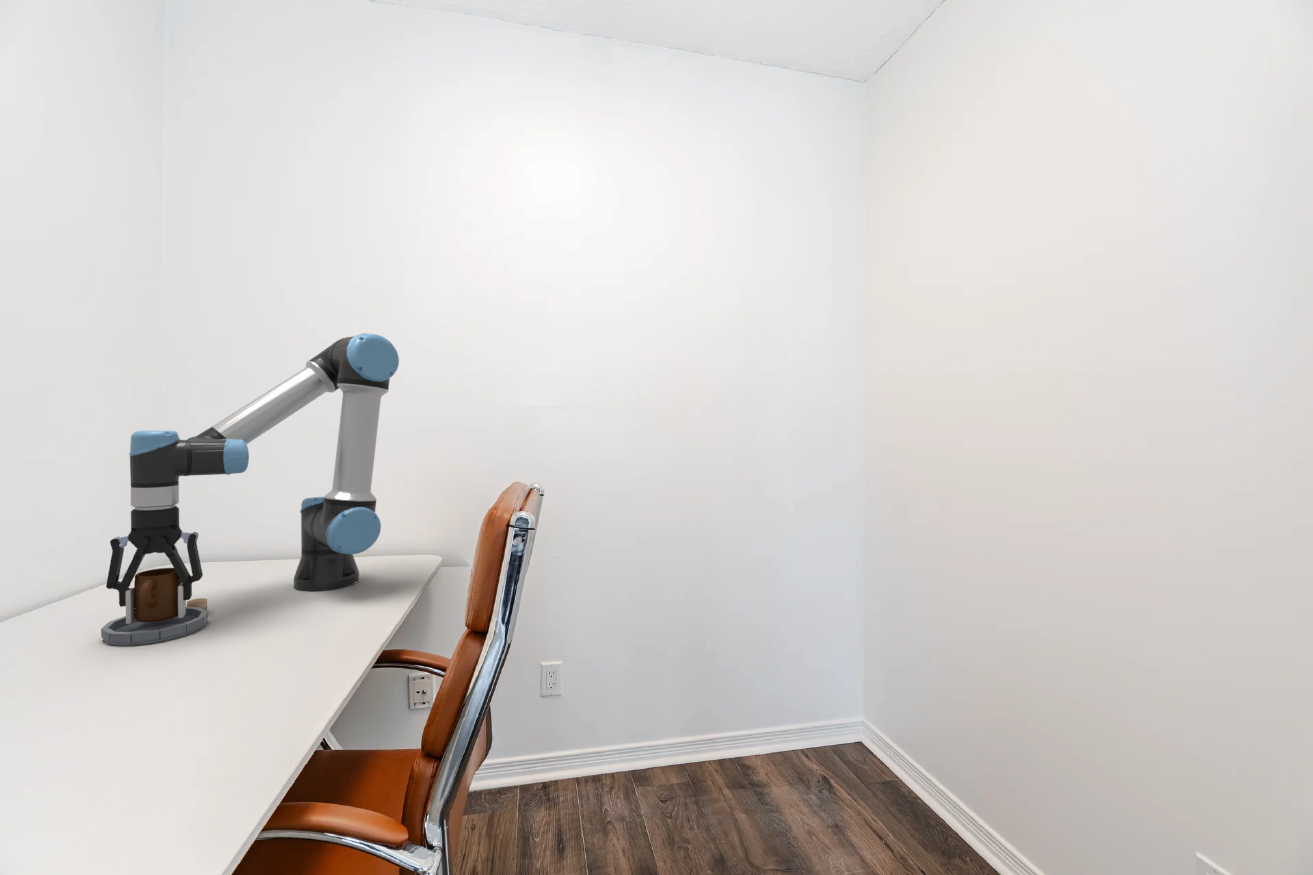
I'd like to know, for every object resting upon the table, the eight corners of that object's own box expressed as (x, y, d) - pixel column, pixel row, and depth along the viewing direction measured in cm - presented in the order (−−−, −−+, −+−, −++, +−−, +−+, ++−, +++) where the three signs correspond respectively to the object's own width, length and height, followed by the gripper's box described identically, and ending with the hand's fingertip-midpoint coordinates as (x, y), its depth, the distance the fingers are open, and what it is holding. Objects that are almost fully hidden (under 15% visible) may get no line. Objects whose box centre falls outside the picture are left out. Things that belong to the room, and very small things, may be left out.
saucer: (213, 613, 134) (213, 602, 134) (198, 638, 120) (197, 626, 119) (118, 624, 126) (118, 613, 126) (89, 651, 112) (89, 639, 112)
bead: (208, 610, 136) (208, 597, 136) (205, 615, 133) (205, 601, 133) (189, 612, 134) (188, 599, 134) (185, 617, 131) (185, 604, 131)
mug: (168, 627, 119) (168, 580, 118) (119, 632, 115) (118, 584, 115) (187, 609, 129) (186, 565, 129) (142, 613, 126) (142, 569, 126)
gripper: (220, 501, 130) (221, 606, 131) (95, 506, 121) (97, 620, 121) (213, 506, 123) (214, 617, 124) (81, 512, 114) (83, 632, 115)
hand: (156, 618), depth 123 cm, fingers closed on mug, 8 cm apart
